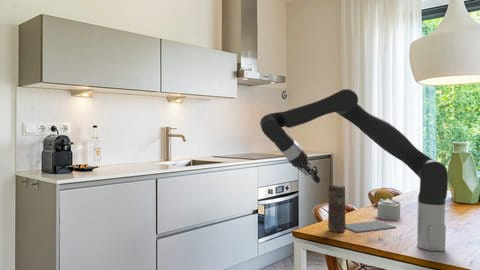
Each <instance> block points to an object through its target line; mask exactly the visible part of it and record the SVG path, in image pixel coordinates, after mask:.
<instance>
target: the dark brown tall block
mask: <svg viewBox="0 0 480 270" xmlns="http://www.w3.org/2000/svg"><path fill="white" fill-rule="evenodd" d="M327 188H328V192H327V193H328V200H327V201H328V203H327V204H328V207H327V208H328V214H327V215H328V217H327V219H328V221H327V224H328V225H327V226H328V230H329V231H331V232H333V233H342V232H345V231H346V228H345V224H346V186H344V185H342V186H338V185H331V184H330V185H329V184H328V187H327Z"/></svg>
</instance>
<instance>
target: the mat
mask: <svg viewBox="0 0 480 270" xmlns="http://www.w3.org/2000/svg"><path fill="white" fill-rule="evenodd" d="M391 229H397V227H396V226H395V225H391V224H388V223H385V222H382V221H378V220H372V221H362V222H355V223H345V230H348V231H350V232H354V233H365V232H366V233H367V232H373V231H374V232H375V231H382V230H391Z"/></svg>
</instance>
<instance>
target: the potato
mask: <svg viewBox="0 0 480 270" xmlns="http://www.w3.org/2000/svg"><path fill="white" fill-rule="evenodd" d="M372 196H373V197H372V199H373V202H374V204H375V205H376V206H377V207H378V202H379V200H380V199H383V200H384V201H385V200H386V199H389V200H390V201H391V200H392V199H393V194H392V192H391V191H390V190H389V189H386V188H378V189H376V190H375V191H374V193H373V195H372Z"/></svg>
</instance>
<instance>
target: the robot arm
mask: <svg viewBox="0 0 480 270" xmlns="http://www.w3.org/2000/svg"><path fill="white" fill-rule="evenodd" d="M358 96H359V95H357V93H356V92H355V91H354V90H352V89H349V88H343V89H342V90H339V91H337V92H335V93H333V94H331V95H329V96H327V97H325V98H322V99H320V100H317V101H314V102H311V103H307V104H305V105H301V106H298V107H295V108H291V109H288V110H285V111H278V112H272V113H268V114H266V115H264V116H263V117H261V119H260V123H259V125H260V128H261V131H262V133H263V134H264V136H266V137H267V138H268V139H269V141H271V142H272V143H274V145H275V146H276V147H277V149H278V150H279V151H280V152H281V154H282V155H283V157H285V159H286V160H287V161H288V162H289V164H291V166H293V167H294V168H296V169H297V170H299V171H300V172H301V173H303V174H304V175H305V176H308V177H309V178H310V179H312V180H313V182H314V183H316V184H319V183H320V182H321V178H320V177H319V176H318V174H319V172H318V168H317V166H315V165H314V166H312V164H311V162H310V161H308V157H309V156H308V154H307V153H306V152H305V150H304V149H303V148H302V147H301V146H300V144H298V143H297V142H296V140H294V138H292V136H291V135H290V134H289V133H288V132H287V131H285V129H283V128H288V129H291V128H294V127H297V126H298V127H299V126H302V125H304V124H306V123H307V124H308V123H309V122H312V121H314V120H316V119H318V118H321V117H323V116H325V115H329V114H332V113H336V114H337V115H338V116H340V117H342V118H343V119H345V120H347V121H348V122H350V123H351V124H353V126H355V127H357V129H359V130H360V131H361V132H362V133H363V134H364V135H366V136H367V137H368V138H370V139H371V140H372V141H373V142H374V143H376V144H377V145H378V147H380V148H381V149H383V150H384V151H385V152H387V154H390V155H391V156H392V157H394V158H396V159H397V160H399V161H401V162H403V164H405V166H407V167H408V168H409V169H410V170H411V171H412V172H413V173H414V174H415V175H416V176H417V177H418V178H419V193H418V196H417V230H416V231H417V232H416V233H417V237H416V239H417V240H416V241H417V243H416V247H418V248H419V249H422V250H425V251H428V252H446V237H447V236H446V231H447V229H446V224H445V223H446V222H445V221H446V200H447V197H448V195H447V194H448V182H449V176H448V175H449V174H448V169H447V167H446V166H445V165H444V164H443V163H442V162H440V161H436V160H435V159H433V158H432V157H430V156H428V155H426V154H425V153H424V152H422V151H420V150H419V149H418V148H417V147H415V145H414V144H413V143H412V142H411V141H410V139H408V138H407V137H406V136H405V135H404V134H403V133H402V132H401V131H400V130H399V129H397V128H396V127H395V126H393V125H392V124H391V123H389V122H388V121H386V120H385V119H382V118H380V117H378V116H376V115H374V114H372V113H370V112H368V111H367V110H365V109H364V108H363V107H362V106H361V105H360V104H358V103H359V97H358Z"/></svg>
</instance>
